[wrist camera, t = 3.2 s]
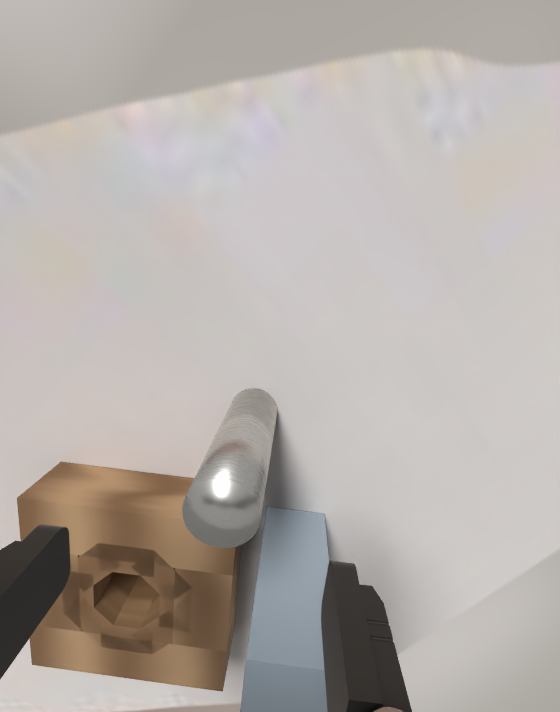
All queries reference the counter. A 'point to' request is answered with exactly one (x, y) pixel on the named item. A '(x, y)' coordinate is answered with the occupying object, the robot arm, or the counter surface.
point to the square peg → (288, 616)
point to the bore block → (132, 579)
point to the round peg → (233, 474)
